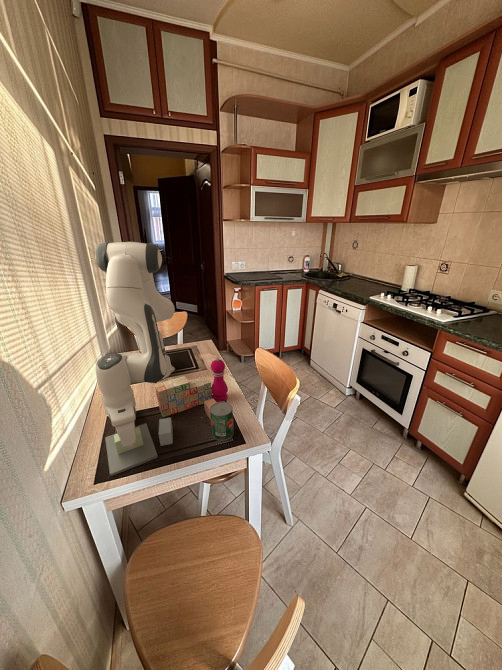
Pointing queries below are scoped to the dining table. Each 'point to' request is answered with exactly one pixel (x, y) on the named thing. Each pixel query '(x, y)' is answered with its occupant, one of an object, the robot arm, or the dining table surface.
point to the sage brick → (122, 449)
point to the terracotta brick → (208, 406)
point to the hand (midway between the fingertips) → (128, 437)
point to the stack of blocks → (182, 394)
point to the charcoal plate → (130, 453)
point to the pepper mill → (218, 381)
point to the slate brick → (165, 431)
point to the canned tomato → (222, 420)
